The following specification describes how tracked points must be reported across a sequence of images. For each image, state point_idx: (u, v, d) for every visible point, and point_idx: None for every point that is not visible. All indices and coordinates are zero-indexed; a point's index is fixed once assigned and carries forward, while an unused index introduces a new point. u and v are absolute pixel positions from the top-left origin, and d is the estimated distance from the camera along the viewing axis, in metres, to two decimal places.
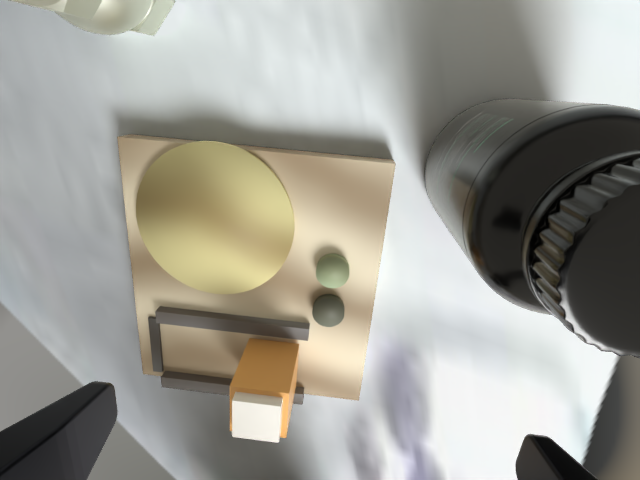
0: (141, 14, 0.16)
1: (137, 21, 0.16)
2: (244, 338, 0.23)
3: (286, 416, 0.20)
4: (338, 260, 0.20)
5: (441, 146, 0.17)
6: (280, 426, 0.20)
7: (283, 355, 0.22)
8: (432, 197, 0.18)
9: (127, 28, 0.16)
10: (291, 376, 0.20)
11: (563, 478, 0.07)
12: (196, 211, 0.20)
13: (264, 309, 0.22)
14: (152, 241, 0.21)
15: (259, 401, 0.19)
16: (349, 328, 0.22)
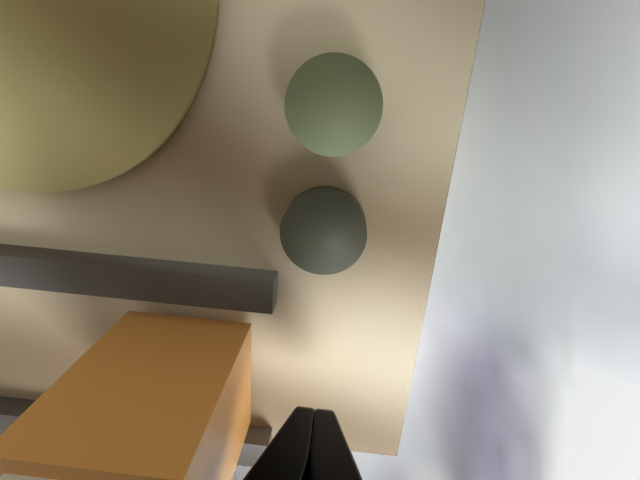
0: None
1: None
2: (124, 313, 0.10)
3: None
4: (350, 60, 0.07)
5: None
6: None
7: (202, 352, 0.08)
8: None
9: None
10: (208, 414, 0.07)
11: (312, 447, 0.07)
12: None
13: (161, 237, 0.09)
14: None
15: None
16: (378, 282, 0.09)
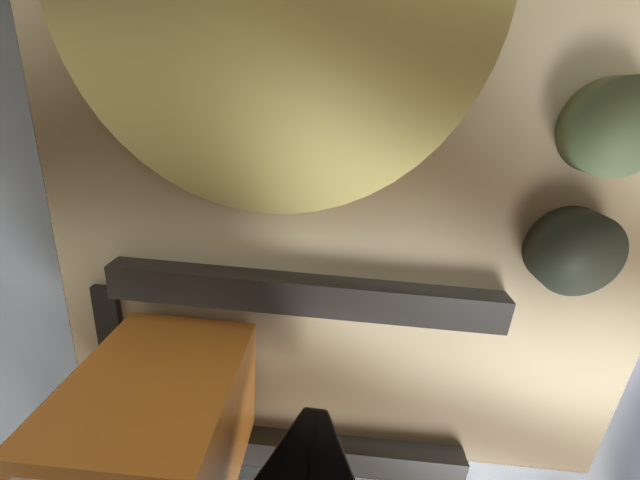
0: None
1: None
2: (330, 334, 0.09)
3: None
4: None
5: None
6: None
7: (207, 352, 0.08)
8: None
9: None
10: (216, 414, 0.07)
11: (305, 446, 0.07)
12: None
13: (388, 257, 0.09)
14: (86, 54, 0.07)
15: None
16: (608, 301, 0.09)
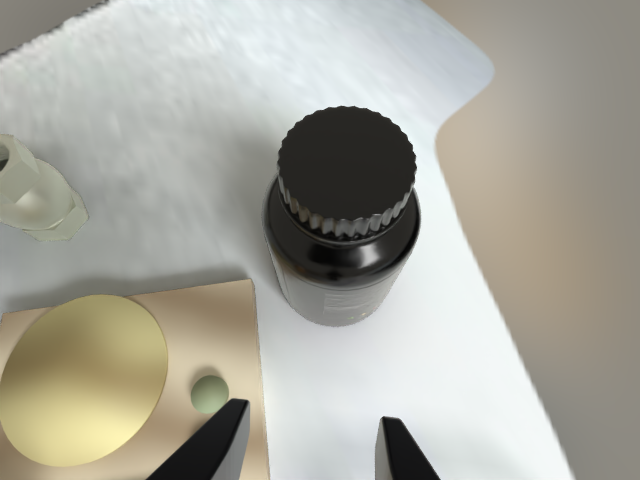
0: (57, 209, 0.23)
1: (53, 214, 0.22)
2: None
3: None
4: (212, 377, 0.20)
5: None
6: None
7: None
8: (281, 288, 0.21)
9: (44, 218, 0.22)
10: None
11: (390, 456, 0.07)
12: (66, 364, 0.20)
13: (135, 476, 0.19)
14: (10, 413, 0.19)
15: None
16: (241, 472, 0.19)
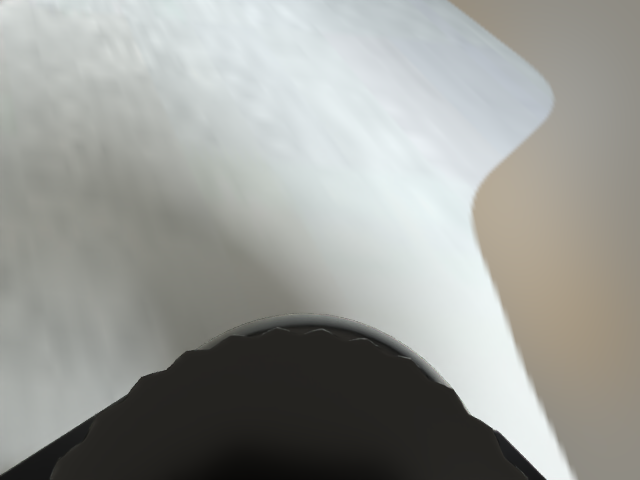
0: None
1: None
2: None
3: None
4: None
5: None
6: None
7: None
8: None
9: None
10: None
11: None
12: None
13: None
14: None
15: None
16: None
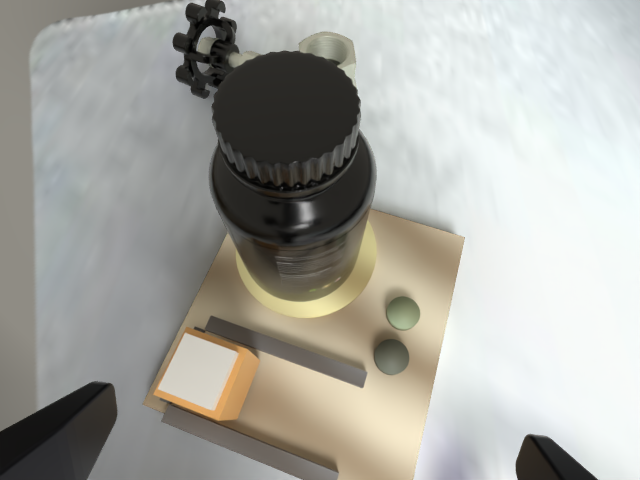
0: None
1: None
2: (288, 378, 0.20)
3: (232, 383, 0.16)
4: (411, 300, 0.22)
5: None
6: (221, 390, 0.16)
7: None
8: None
9: None
10: (250, 353, 0.18)
11: (563, 478, 0.07)
12: None
13: (321, 345, 0.21)
14: None
15: (213, 344, 0.17)
16: (408, 389, 0.20)
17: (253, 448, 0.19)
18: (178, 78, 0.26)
